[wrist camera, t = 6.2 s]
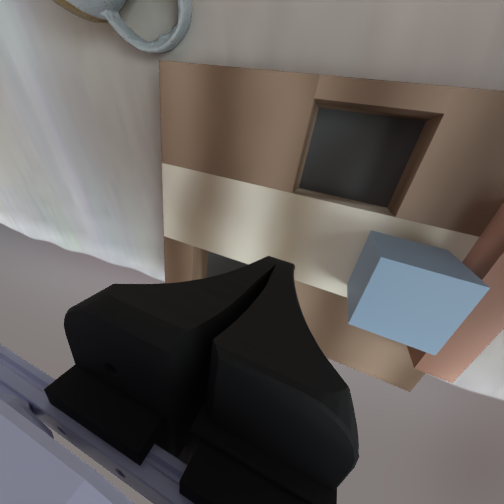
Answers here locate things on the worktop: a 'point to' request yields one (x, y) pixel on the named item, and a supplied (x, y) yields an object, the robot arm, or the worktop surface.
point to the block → (411, 292)
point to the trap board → (334, 192)
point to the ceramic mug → (107, 10)
